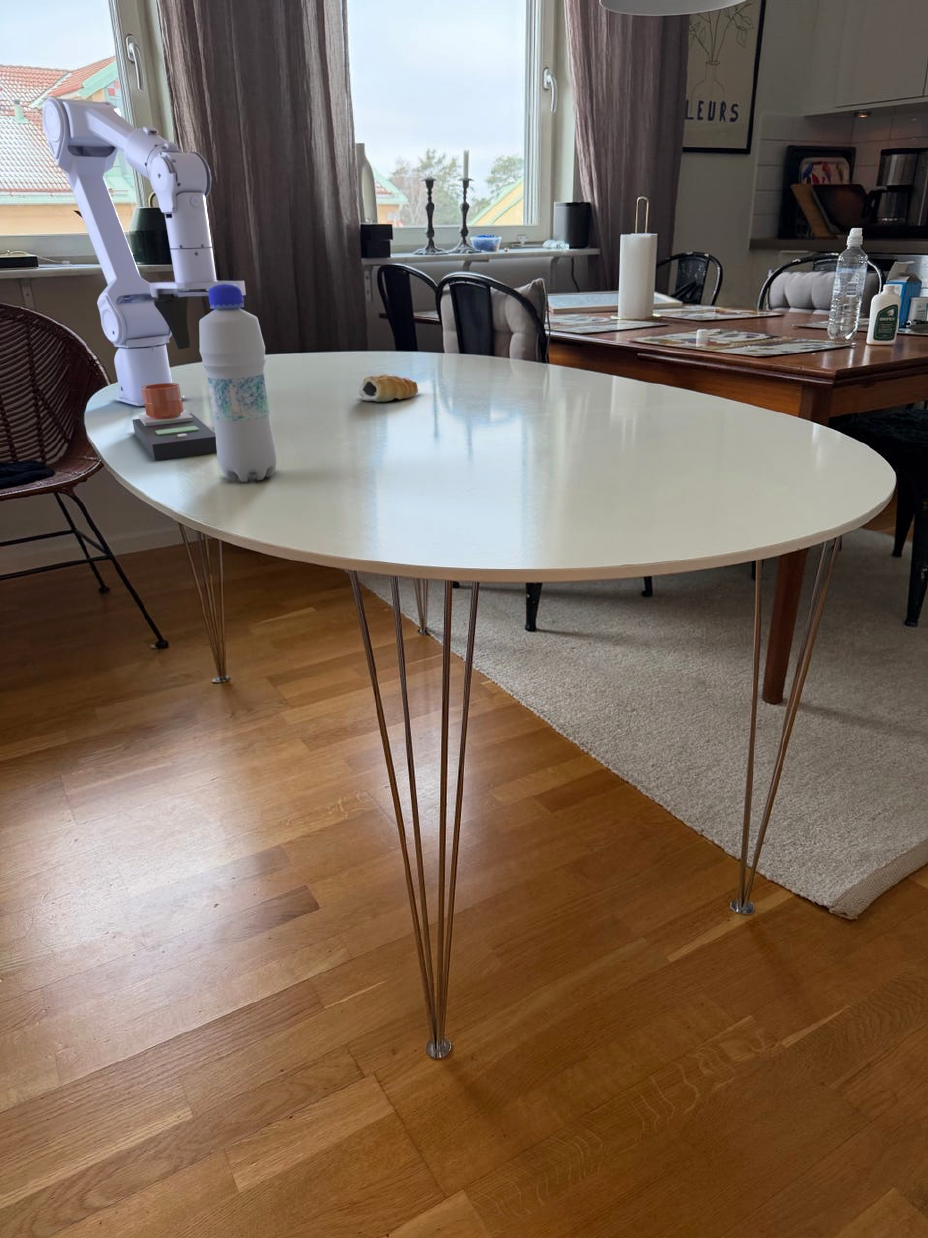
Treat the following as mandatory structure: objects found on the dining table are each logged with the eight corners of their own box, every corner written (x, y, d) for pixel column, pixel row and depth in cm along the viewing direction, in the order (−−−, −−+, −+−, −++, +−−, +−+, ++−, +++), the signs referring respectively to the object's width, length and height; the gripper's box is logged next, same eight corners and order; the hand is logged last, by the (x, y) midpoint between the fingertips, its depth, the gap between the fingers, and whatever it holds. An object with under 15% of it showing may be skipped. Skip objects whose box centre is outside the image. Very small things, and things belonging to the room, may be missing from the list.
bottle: (228, 469, 98) (201, 282, 90) (286, 468, 98) (264, 280, 90) (211, 485, 92) (180, 286, 84) (272, 484, 92) (247, 284, 83)
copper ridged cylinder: (141, 416, 116) (135, 386, 114) (174, 411, 119) (169, 381, 117) (156, 421, 113) (150, 390, 111) (190, 415, 116) (185, 385, 114)
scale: (134, 433, 118) (131, 415, 117) (193, 426, 121) (190, 408, 120) (155, 460, 103) (151, 440, 102) (221, 451, 106) (218, 431, 105)
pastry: (402, 391, 142) (400, 367, 141) (428, 396, 138) (427, 372, 136) (356, 399, 137) (354, 375, 135) (382, 405, 132) (380, 379, 130)
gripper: (129, 250, 119) (147, 351, 125) (220, 247, 115) (235, 352, 121) (160, 249, 125) (176, 345, 131) (247, 246, 121) (260, 346, 127)
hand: (206, 348), depth 126 cm, fingers open, 7 cm apart
